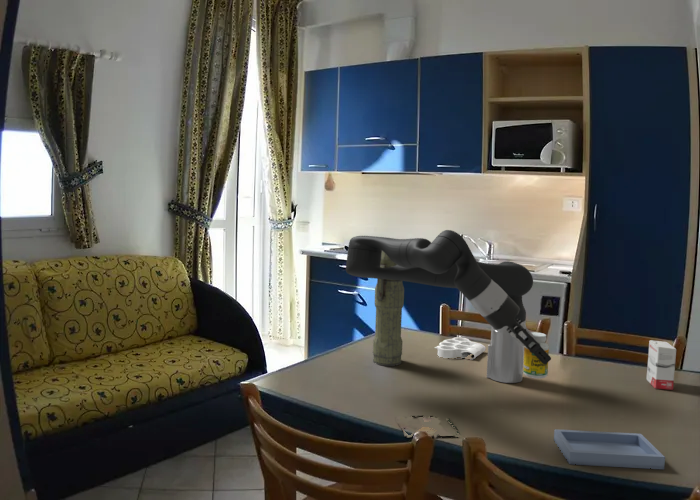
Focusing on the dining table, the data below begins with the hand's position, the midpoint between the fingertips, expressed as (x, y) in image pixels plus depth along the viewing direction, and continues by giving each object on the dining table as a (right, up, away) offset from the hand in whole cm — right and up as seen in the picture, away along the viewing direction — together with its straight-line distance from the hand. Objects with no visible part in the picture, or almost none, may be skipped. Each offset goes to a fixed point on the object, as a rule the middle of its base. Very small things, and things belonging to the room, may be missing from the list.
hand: (544, 357), depth 134 cm
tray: (+8, -17, -14) cm, 24 cm away
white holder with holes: (-9, -10, +59) cm, 61 cm away
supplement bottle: (-2, -4, +1) cm, 5 cm away
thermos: (-33, -10, +47) cm, 58 cm away
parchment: (-27, -16, -2) cm, 31 cm away
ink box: (+43, -14, +32) cm, 55 cm away
